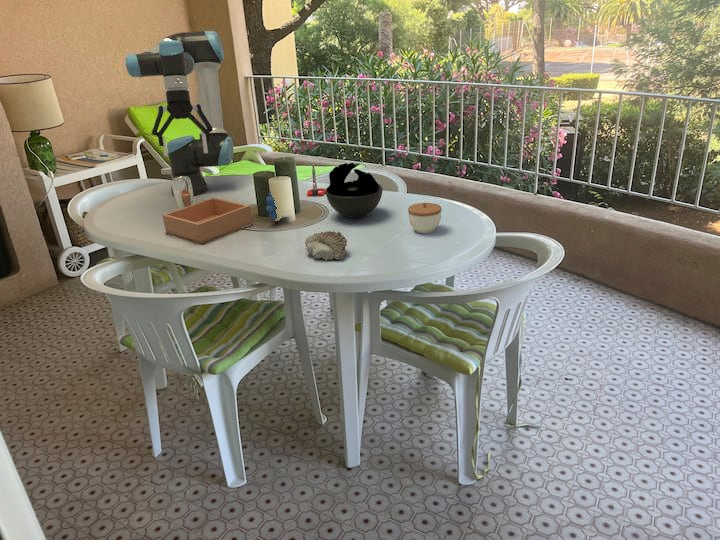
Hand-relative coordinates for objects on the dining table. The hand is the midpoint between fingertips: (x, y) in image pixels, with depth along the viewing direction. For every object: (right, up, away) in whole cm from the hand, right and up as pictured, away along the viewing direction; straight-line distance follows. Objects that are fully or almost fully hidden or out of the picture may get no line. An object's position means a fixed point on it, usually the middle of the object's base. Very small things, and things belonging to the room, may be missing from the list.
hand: (186, 154), depth 191 cm
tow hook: (+43, -9, +36) cm, 57 cm away
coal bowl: (+58, -21, +7) cm, 62 cm away
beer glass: (-4, -20, +17) cm, 27 cm away
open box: (+7, -26, +3) cm, 27 cm away
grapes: (+32, -23, +6) cm, 40 cm away
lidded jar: (+81, -27, -10) cm, 86 cm away
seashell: (+50, -35, -23) cm, 65 cm away
